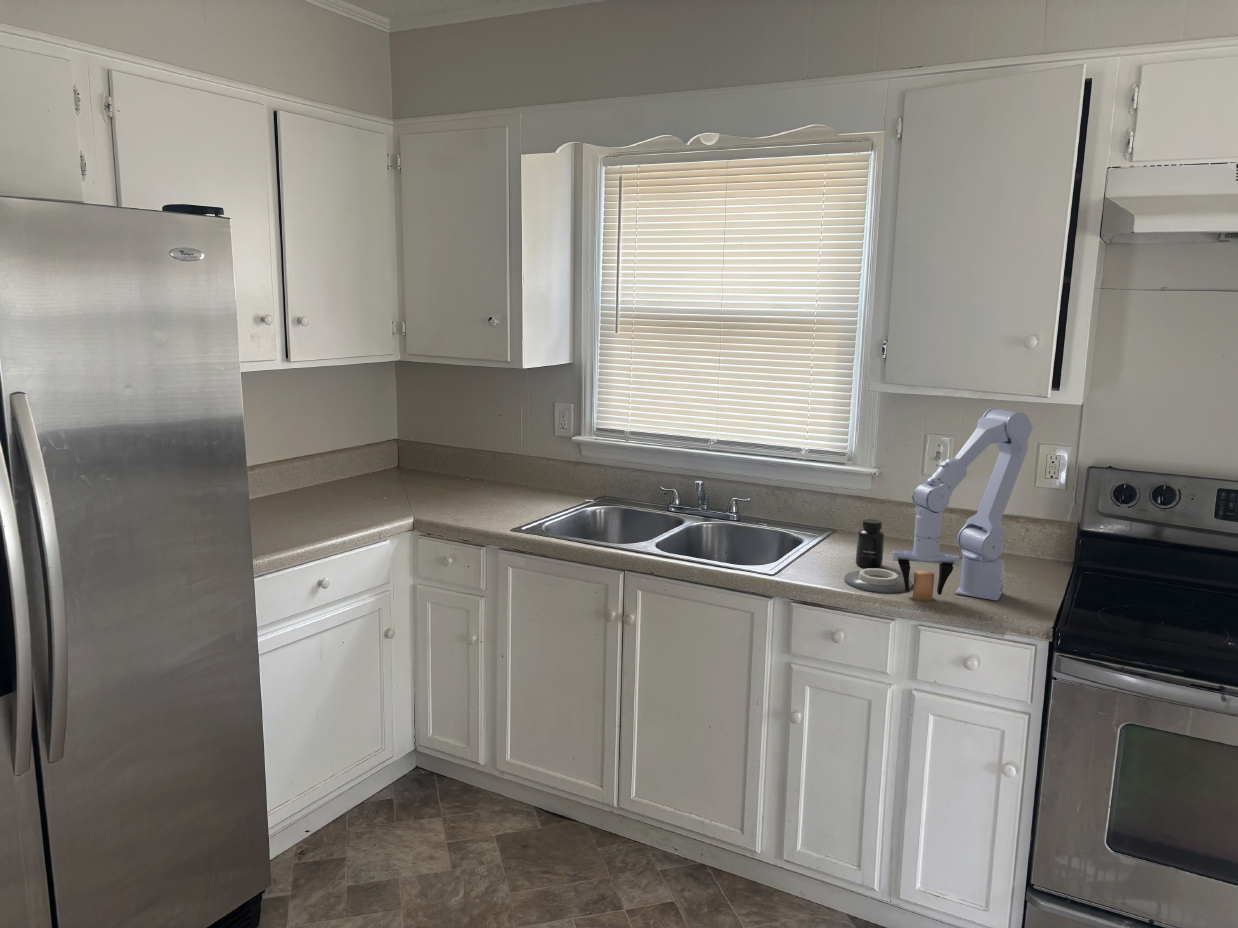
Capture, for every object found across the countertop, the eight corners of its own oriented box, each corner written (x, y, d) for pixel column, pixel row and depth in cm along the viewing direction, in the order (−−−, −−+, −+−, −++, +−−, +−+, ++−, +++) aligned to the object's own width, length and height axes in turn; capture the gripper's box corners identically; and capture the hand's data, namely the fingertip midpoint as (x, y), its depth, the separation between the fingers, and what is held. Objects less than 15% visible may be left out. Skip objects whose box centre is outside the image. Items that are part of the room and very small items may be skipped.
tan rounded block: (934, 597, 212) (936, 572, 211) (930, 602, 208) (932, 577, 207) (914, 593, 214) (916, 569, 213) (910, 598, 210) (912, 574, 209)
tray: (918, 579, 225) (919, 570, 225) (902, 597, 211) (903, 587, 211) (854, 569, 233) (855, 560, 233) (836, 585, 219) (836, 576, 219)
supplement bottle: (864, 569, 233) (867, 524, 231) (850, 562, 239) (853, 518, 237) (887, 568, 235) (890, 523, 233) (873, 560, 241) (876, 517, 239)
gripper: (957, 533, 211) (953, 589, 213) (893, 529, 214) (889, 584, 216) (962, 541, 204) (957, 598, 206) (895, 536, 207) (891, 593, 210)
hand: (922, 592), depth 211 cm, fingers open, 7 cm apart
